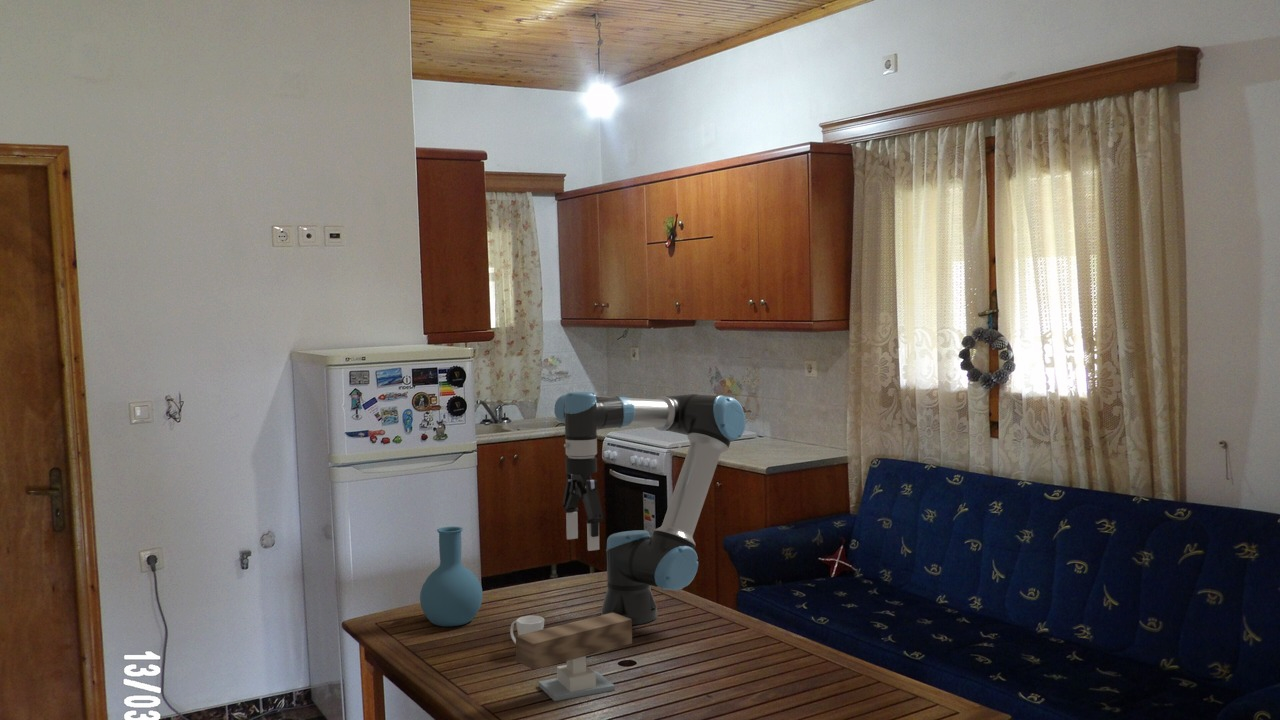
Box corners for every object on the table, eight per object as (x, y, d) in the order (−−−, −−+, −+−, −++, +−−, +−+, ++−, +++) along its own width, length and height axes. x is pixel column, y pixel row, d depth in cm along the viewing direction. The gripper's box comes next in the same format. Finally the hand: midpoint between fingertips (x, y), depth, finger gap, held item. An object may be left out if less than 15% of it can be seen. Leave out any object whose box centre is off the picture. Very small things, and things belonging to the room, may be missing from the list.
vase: (495, 617, 275) (493, 526, 274) (453, 634, 261) (451, 538, 260) (450, 609, 284) (448, 520, 283) (407, 624, 270) (405, 531, 269)
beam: (613, 636, 233) (613, 612, 233) (632, 643, 227) (631, 619, 227) (516, 661, 217) (515, 635, 217) (533, 670, 211) (533, 643, 211)
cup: (531, 659, 242) (530, 625, 241) (501, 651, 248) (500, 618, 247) (551, 650, 247) (550, 618, 247) (521, 643, 253) (520, 611, 253)
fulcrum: (597, 675, 230) (596, 640, 230) (614, 689, 221) (614, 653, 221) (538, 685, 224) (538, 650, 224) (554, 701, 215) (553, 664, 215)
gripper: (548, 451, 252) (550, 535, 253) (586, 464, 230) (587, 556, 231) (576, 449, 256) (577, 532, 257) (616, 461, 233) (618, 553, 234)
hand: (582, 544), depth 244 cm, fingers open, 13 cm apart
